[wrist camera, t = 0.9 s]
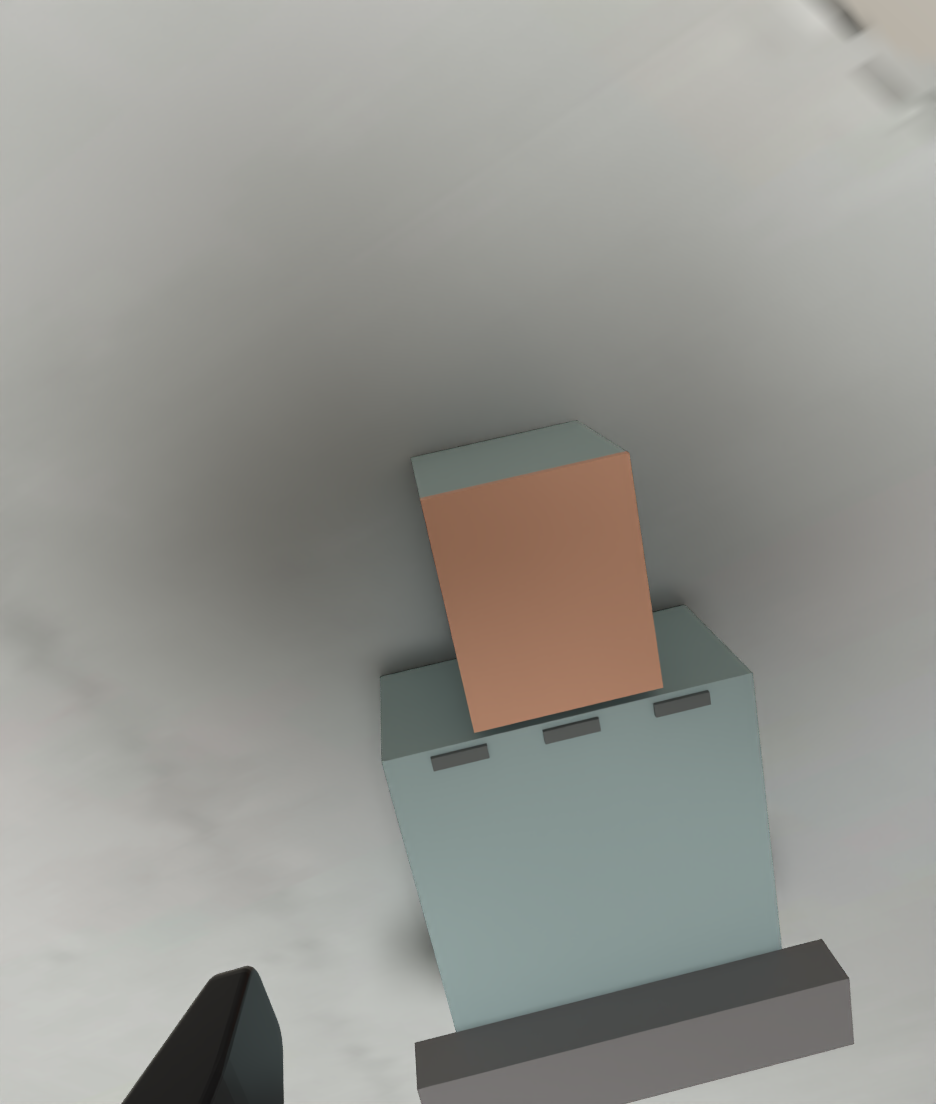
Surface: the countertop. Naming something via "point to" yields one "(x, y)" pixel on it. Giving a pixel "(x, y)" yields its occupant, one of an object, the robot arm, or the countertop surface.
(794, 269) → the countertop surface
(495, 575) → the teal and orange block
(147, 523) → the countertop surface
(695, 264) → the countertop surface
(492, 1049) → the teal block with bar
